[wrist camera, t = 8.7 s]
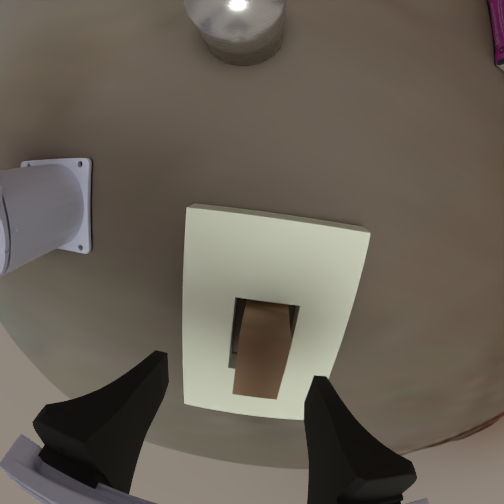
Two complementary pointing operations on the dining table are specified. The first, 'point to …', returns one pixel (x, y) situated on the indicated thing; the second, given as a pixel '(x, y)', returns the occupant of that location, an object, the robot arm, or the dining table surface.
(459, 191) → the dining table surface
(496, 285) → the dining table surface
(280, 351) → the walnut bar
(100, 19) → the dining table surface
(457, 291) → the dining table surface
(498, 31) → the candy bar box
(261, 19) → the grey round peg
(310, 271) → the socket plate
